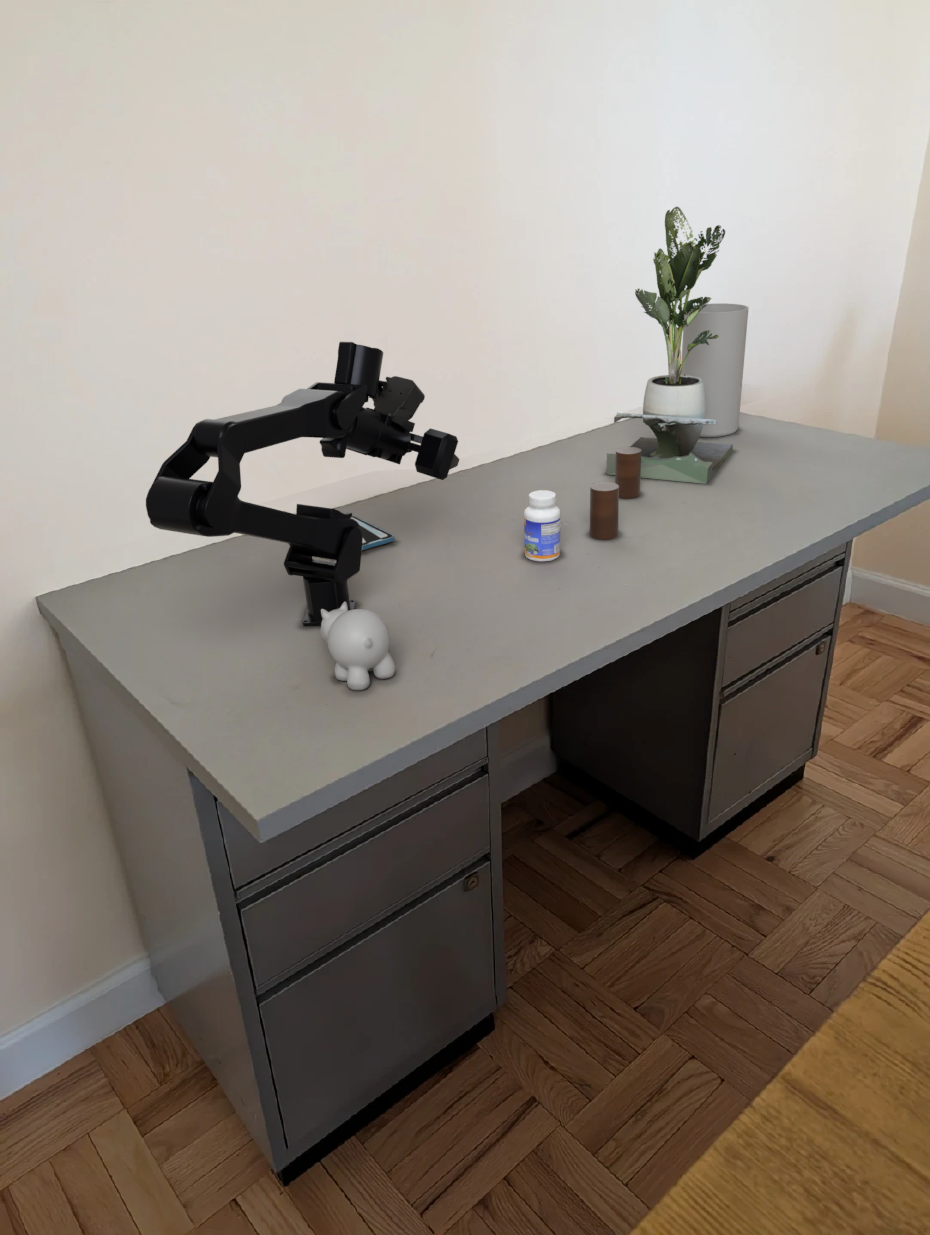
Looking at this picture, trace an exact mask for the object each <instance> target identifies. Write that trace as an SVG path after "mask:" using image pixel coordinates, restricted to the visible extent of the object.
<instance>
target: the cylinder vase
mask: <svg viewBox="0 0 930 1235" xmlns="http://www.w3.org/2000/svg"><path fill="white" fill-rule="evenodd" d="M706 304H707V306H705V307H703V309H702V310H701V311H700V312H699V311H698V312H697V313H698V314H697V316H696V318H695V319H694V320H693V321H692V322H691V323H690V324H689V325H688V326H687V325H685V326H687V327H684V329H683V332H682V341H681V363H682V362H683V360H684V358H685V356H686V355H687V353H688V349H690V348H688V349H687V346H688V345H689V344H690V343H692V342H693V341H694V339H695V338H696V337H698V335H699V336H700V333H701V332H703V331H707V330H710V332H709V334H708V335H710V334H711V333H712V336H711V337H713V336H715V335H718V336H719V337H718V336H717V337H718V338H716V339H706V340H707V342H708V344H709V345H707V344H706V343H704V344H699V345H697V346H695V347H694V348H693V349H691V351H690V352H689V354H688V356H687V358H686V360H685V363H684V365H683V368H682V371H681V374H682V375H684V374H683V373H685V375H690V376H697V377H700V378H702V379H703V380H704V386H705V397H706V406H705V418H704V419H713V420H717V424H709V425H703V428H702V431H701V434H700V436H699V438H720V437H726V436H730V435H733V434H735V433H736V432H738V430H739V427H740V426H739V425H740V416H741V415H740V414H741V400H742V390H743V377H744V367H745V355H746V343H747V332H748V330H747V329H748V320H749V306H747V305H745V304H740V303H706ZM706 304H705V305H706ZM693 306H694V304H693ZM703 306H704V305H703ZM694 307H695V306H694ZM700 307H701V308H702V306H700ZM696 308H697V307H696ZM692 310H693V309H691V312H692ZM699 310H700V309H699ZM689 313H690V311H689V312H688V315H687V313H686V315H685V314H684V319H685V320H686V319H687V317H689ZM685 320H684V321H685ZM707 333H708V332H707ZM708 335H707V336H708ZM707 336H706V337H707ZM702 337H703V335H702ZM702 337H701V338H702ZM701 338H700V337H699V339H701ZM695 340H696V339H695ZM694 344H695V343H694Z"/></svg>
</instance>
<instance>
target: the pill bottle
mask: <svg viewBox="0 0 930 1235" xmlns="http://www.w3.org/2000/svg"><path fill="white" fill-rule="evenodd" d="M556 504H557V494H556V493H555V492H554V491H551V490H547V489H546V490H545V489H539V490H534V491H531V492H530V493H528V505H529V506H527V507H526V508H525V509H524V512H523V523H524V524H523V532H524V533H523V534H524V536H523V538H524V543H523V544H524V545H523V546H524V556H525V558H527V559H528V560H530V561H533V562H540V563H541V562H543V563H544V562H550V561H555V560H556V559H558V558H559V557H560V556H561V510H560V508H559V507H558V506H556Z"/></svg>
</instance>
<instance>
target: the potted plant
mask: <svg viewBox="0 0 930 1235" xmlns="http://www.w3.org/2000/svg"><path fill="white" fill-rule="evenodd" d="M686 222H687V223H686ZM685 223H686V224H685ZM678 224H679V225H678ZM685 225H686V226H688V228H687V229H686V227H685ZM664 228H665V244H666V251H667V252H666V253H667V254H665V251H664V249H662V248H658V250H657V251H656V252H654V253H653V254H654V257H652V258H653V261H652V262H653V264H654V267H655V268H654V269H655V274H656V275H655V276H656V285H657V289H658V293H659V296H658V293H657V292H651V291H648V290H645V289H643V288H641V289H640V288H637V289H635V291H634V294H635V297H636V299H637V301H638V302H639V303H640V305H641V306H640V307H641V308H642V309H644V311H643V314H644V313H645V314H646V315H647V316H649V317H650V318H652V319H655V320H656V321H657V322H658V324H659V326H661V328H662V331H663V335H664V340H665V344H666V345H665V346H666V351H667V352H666V353H667V368H668V374H665V375H664V374H663V375H657V376H653V377H650V378H648V379H647V382H646V386H645V390H644V396H643V403H642V413H628V412H616V415H615V416H614V417H613V424H616V423H617V422H619V421H621V420H622V419H627V418H628V419H642V423H643V424H645V425H646V426H647V427H649V428H650V430H651V431H652V432H653V434H654V436H655V438H654V437H644V436H643V437H642V436H641V437H639V438H638V439H637V440H635V442H634V443H632V444H631V445H629V447H636V448H639V449H641V478H643V479H652V480H661V481H662V480H663V481H674V482H683V483H692V484H694V483H695V484H705V485H706V484H708V483H709V481H710V480H711V479H712V477H714V475H715V474H716V473H717V471H718V470H719V469H720V468H721V466H722V465H723V463H724V462H725V461H726V459H728V457H729V456H730V455H731V453H732V452H733V451H734V450H733V449H734V445H733V444H732V443H731V444H730V443H720V442H719V443H718V442H709V441H699V438H700V437H699V436H700V434H701V431H702V428H703V425H709V424H717V420H713V419H704V418H705V406H706V397H705V386H704V380H703V379H702V378H700V377H697V376H690V375H685V373H683V374H684V375H682V374H681V371H682V368H683V365H684V363H685V360H686V358H687V356H688V354H689V352H690V351H691V349H693V348H694V347H695V346H697V345H699V344H704V343H706V344H707V345H709V344H708V342H707V340H706V339H716V338H718V337H719V336H718V335H715V336H713V337H711V336H712V333H711V334H710V335H708V334H709V332H710V330H707V331H703V332H701V333H700V336H699V335H698V337H696V338H695V339H696V340H695V339H694V341H693V342H692V343H690V344H689V345H688V346H687V349H688V348H690V349H688V353H687V355H686V356H685V358H684V360H683V362H682V363H681V361H682V349H681V348H682V340H683V329H684V327H687V326H688V325H689V324H690V323H691V322H692V321H693V320H694V319H695V318H696V316H697V314H698V313H697V312H698V311H699V312H700V311H701V310H702V309H703V307H705V306H707V304H709V303H710V301H711V300H712V297H710V296H704V297H703V296H700V297H697V298H693V299H690V300H689V296H690V293H691V291H692V289H693V288H694V287H695V285H696V284H697V280H698V279H699V277H700V276H701V273H702V272H703V271H706V270H709V269H710V268H711V266H712V264H713V262H714V261H715V259H716V258H717V256H718V255H717V253H719V251H720V249H719V248H720V245H721V243H722V242H723V240H724V238H725V235H726V230H725V229H724V228H722V225H719V224H718V225H716V226H715V227H714V229H712V226H709V227H707V228H706V230H705V236H704V233H703V230H701V231H700V233H698V238H696V237H695V238H694V234H693V230H692V227H691V225H690V224H689V221H688V219H687V217H686V216H685V214H684V212H683V211H682V208H681V207H679V206H675V207H673V208H672V209H671V210H670V209H668V210H667V211H666V212H665V216H664ZM721 228H722V229H721ZM679 230H682V234H683V235H684V236H683V237H684V238H685V237H686V239H685V240H683V241H682V240H679V243H678V242H677V239H678V238H679V236H678V234H679ZM683 230H684V231H683ZM686 230H690V231H689V233H687V231H686ZM692 238H693V240H690V239H692ZM698 239H699V240H698ZM686 240H687V241H686ZM684 242H685V243H684ZM696 242H697V243H696ZM709 246H710V247H709ZM706 248H708V250H707V251H706ZM703 249H704V250H703ZM704 256H705V257H704ZM684 297H685V299H684V302H683V298H684ZM705 304H706V305H705ZM693 305H694V306H695V307H694V306H693ZM703 305H704V306H703ZM700 306H702V308H701V307H700ZM696 307H697V308H696ZM677 309H678V312H677ZM691 309H693V310H692V312H691ZM699 309H700V310H699ZM689 311H690V313H689V317H687V319H686V320H685V319H684V314H685V315H686V313H687V315H688V312H689ZM684 320H685V321H684ZM685 325H687V326H685ZM707 332H708V333H707ZM702 335H703V337H702ZM707 335H708V336H707ZM706 336H707V337H706ZM717 336H718V337H717ZM699 337H700V338H701V337H702V338H701V339H699ZM694 343H695V344H694ZM615 456H616V453H606V475H611V476H615Z"/></svg>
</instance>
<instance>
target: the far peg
mask: <svg viewBox="0 0 930 1235" xmlns="http://www.w3.org/2000/svg"><path fill="white" fill-rule="evenodd" d="M615 454H616V456H615V475H614V483H616V484H618V485H619V499H624V500H625V499H626V500H628V499H637V498H638V497H640V495H641V449H639V448H636V447H630V446H622V447H619V448H616V449H615Z"/></svg>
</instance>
